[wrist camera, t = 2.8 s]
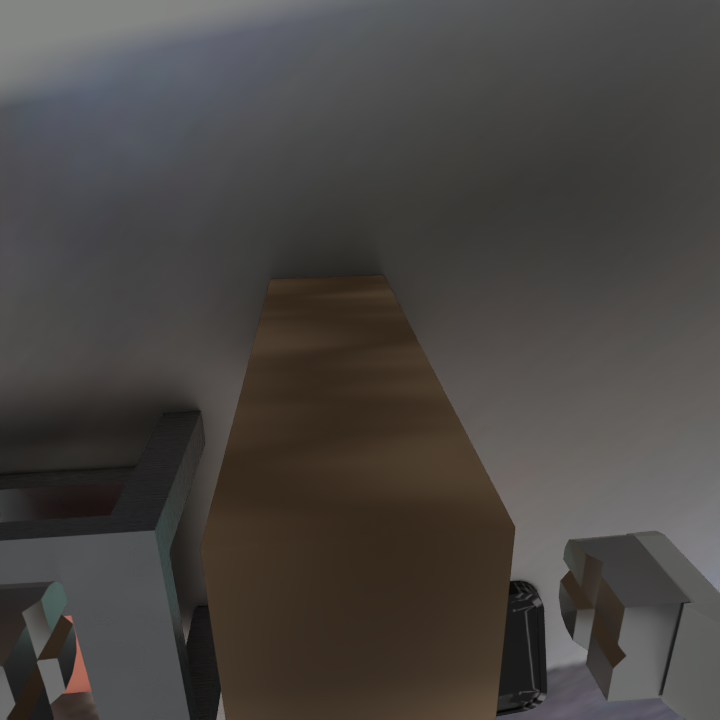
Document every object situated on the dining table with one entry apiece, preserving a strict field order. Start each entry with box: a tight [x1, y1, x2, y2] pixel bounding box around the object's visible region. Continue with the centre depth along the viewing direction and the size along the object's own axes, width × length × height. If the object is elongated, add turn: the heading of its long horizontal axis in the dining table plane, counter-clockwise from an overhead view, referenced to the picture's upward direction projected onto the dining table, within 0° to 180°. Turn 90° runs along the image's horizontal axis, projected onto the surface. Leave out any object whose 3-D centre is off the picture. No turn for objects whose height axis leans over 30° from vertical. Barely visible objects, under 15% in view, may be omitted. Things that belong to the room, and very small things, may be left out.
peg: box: [200, 275, 515, 720], centre depth 14 cm, size 4×4×14 cm
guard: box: [0, 411, 221, 720], centre depth 20 cm, size 11×11×7 cm
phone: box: [496, 581, 547, 716], centre depth 27 cm, size 8×1×15 cm
